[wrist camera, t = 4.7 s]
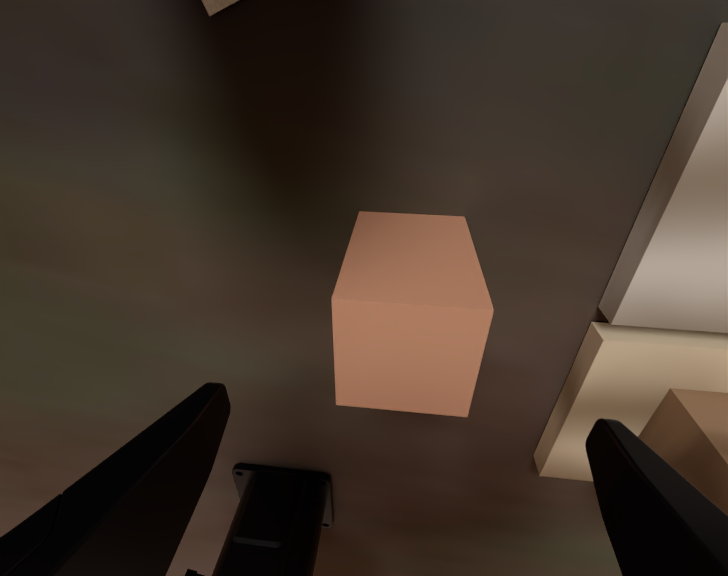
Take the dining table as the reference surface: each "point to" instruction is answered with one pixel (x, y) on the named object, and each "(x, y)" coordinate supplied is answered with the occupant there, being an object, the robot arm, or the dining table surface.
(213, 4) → the condiment
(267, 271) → the dining table surface
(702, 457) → the walnut block
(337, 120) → the dining table surface
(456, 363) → the salmon orange block
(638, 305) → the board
